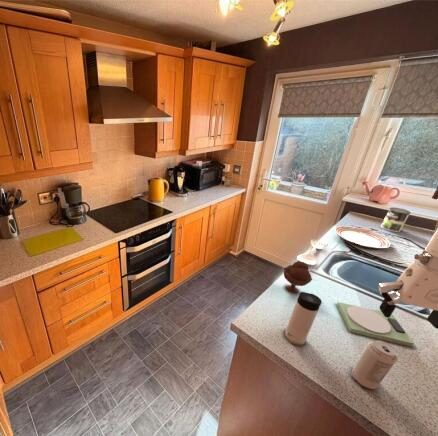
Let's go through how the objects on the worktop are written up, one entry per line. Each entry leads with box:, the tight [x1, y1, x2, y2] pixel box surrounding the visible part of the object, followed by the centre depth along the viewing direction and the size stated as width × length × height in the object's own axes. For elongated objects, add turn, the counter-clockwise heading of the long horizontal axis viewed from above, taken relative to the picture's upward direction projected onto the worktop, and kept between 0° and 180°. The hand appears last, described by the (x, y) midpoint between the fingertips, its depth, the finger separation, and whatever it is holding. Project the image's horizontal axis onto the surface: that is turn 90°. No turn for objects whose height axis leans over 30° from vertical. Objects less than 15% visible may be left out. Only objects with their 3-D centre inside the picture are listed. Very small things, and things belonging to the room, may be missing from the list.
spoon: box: [296, 238, 329, 266], centre depth 132 cm, size 9×32×4 cm, turn 133°
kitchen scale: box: [336, 301, 415, 348], centre depth 88 cm, size 18×14×3 cm
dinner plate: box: [334, 225, 392, 249], centre depth 147 cm, size 28×27×3 cm
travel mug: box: [284, 291, 322, 346], centre depth 79 cm, size 6×7×20 cm
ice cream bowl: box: [283, 260, 313, 295], centre depth 103 cm, size 11×11×15 cm
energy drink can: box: [351, 339, 398, 390], centre depth 67 cm, size 6×6×15 cm
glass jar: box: [380, 207, 411, 233], centre depth 159 cm, size 10×10×14 cm
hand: (407, 318), depth 58 cm, fingers open, 9 cm apart
